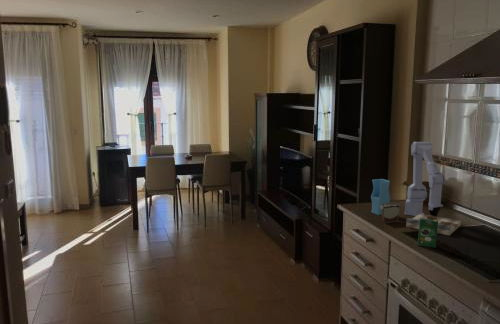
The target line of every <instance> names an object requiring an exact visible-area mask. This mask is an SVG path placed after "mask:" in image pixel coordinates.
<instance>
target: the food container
mask: <svg viewBox="0 0 500 324" xmlns="http://www.w3.org/2000/svg"><path fill="white" fill-rule="evenodd" d="M380 209H381V211H382V215H381V222H382V224H389V223H397V222H399V216H400V210H401V203H396V202H389V203H382V204H381V207H380Z"/></svg>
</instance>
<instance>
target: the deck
mask: <svg viewBox="0 0 500 324" xmlns="http://www.w3.org/2000/svg"><path fill="white" fill-rule="evenodd" d="M428 215H429V214H425V213H424V214H418V215H417V216H413V217H412V218H406V221H405V223H406V224H405V227H406V228H411V229H416V230H419V225H420V218H423V219H427V216H428ZM437 220H438V230H437V234H440V235H444V236H451V235H452V234H453V233H454V232H455V231H456V230H457V229H458V228H460V227H461V225H462V220H459V219H458V220H456V219H453V218H447V217H441V216H437Z"/></svg>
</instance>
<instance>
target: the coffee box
mask: <svg viewBox="0 0 500 324" xmlns="http://www.w3.org/2000/svg"><path fill="white" fill-rule="evenodd" d="M437 230H438V220H431V219H423V218H420V225H419V229H418V235H417V236H418V237H417V246H418V247H419V246H420V247H425V248H426V247H427V248H434V249H436V248H437V238H438V237H437V236H438V233H437Z"/></svg>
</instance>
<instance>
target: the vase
mask: <svg viewBox="0 0 500 324" xmlns="http://www.w3.org/2000/svg"><path fill="white" fill-rule="evenodd" d="M371 181H372V186H373V187H372V188H373V189H372V193H371V194H370V199H371V213H373V214H374V215H377V216H382V211H381V209H380V207H381V204H382V203H390V201H391V196H390V193H389V187H390V182H391V181H390V180H387V179H384V178H378V179H372V180H371Z"/></svg>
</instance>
